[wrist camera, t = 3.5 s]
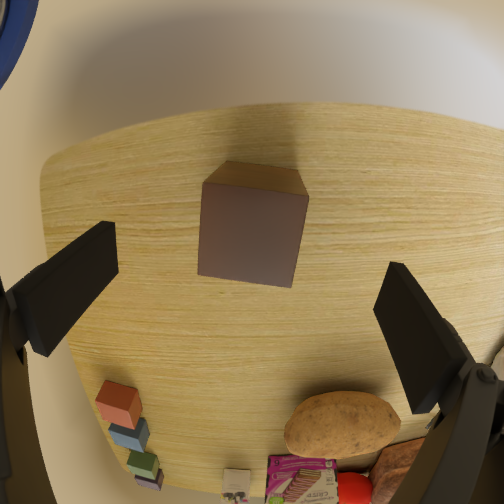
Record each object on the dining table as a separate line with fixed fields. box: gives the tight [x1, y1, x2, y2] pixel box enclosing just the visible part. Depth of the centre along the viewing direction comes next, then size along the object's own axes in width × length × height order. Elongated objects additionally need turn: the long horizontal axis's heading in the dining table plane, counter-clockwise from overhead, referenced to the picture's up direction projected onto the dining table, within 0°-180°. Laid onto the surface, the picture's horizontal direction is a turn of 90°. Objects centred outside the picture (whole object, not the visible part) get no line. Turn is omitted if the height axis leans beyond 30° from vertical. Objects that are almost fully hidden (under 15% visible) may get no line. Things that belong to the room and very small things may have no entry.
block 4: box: [135, 469, 164, 491], centre depth 47 cm, size 5×5×4 cm
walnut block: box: [198, 161, 309, 288], centre depth 20 cm, size 6×6×8 cm
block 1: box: [95, 380, 142, 429], centre depth 34 cm, size 5×5×4 cm
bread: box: [367, 437, 426, 504], centre depth 35 cm, size 17×29×11 cm, turn 95°
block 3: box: [127, 450, 159, 480], centre depth 44 cm, size 5×5×4 cm
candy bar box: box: [265, 455, 339, 504], centre depth 33 cm, size 11×5×16 cm, turn 101°
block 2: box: [108, 418, 150, 453], centre depth 38 cm, size 5×5×4 cm
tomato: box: [337, 472, 373, 504], centre depth 40 cm, size 14×13×9 cm
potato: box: [284, 391, 401, 459], centre depth 30 cm, size 10×14×8 cm
